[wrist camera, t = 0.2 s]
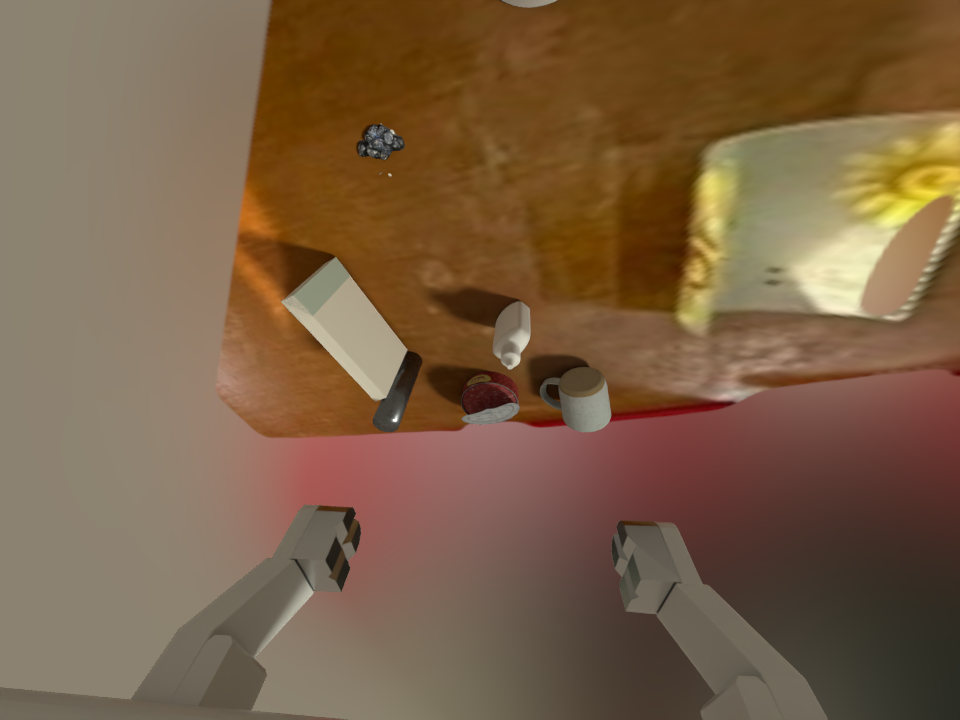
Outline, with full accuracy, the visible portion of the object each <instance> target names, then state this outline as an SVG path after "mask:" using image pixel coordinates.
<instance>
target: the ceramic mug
mask: <svg viewBox="0 0 960 720" xmlns="http://www.w3.org/2000/svg"><path fill="white" fill-rule="evenodd" d="M548 384H554V385H559V396H560V401H561V402H558V401H556V400H554V399H552V398H551V397H550V396H549V395H548V394H547V392H546V387H547V385H548ZM540 395H541V398H542V399H543V400H544V401H545V402H546V403H547V404H548V405H550V406H552V407H554V408H556V409H559V410H562V416H563V420H564V422H565V423H566V424H567V425H568V426H569V427H570V428H572V429H574V430H577V431H580V432H593V431H597V430H600V429H602V428H603V427H605V426H606V425H607V424H608V422H609V420H610V418H611V410H610V403H609V397H608V389H607V383H606V381H605V378H604V376H603V375H602V373H600V372H599V371H598V370H596V369H593V368H590V367H578V368H574V369H571V370H569V371H567V372H566V373H565V374H563V375H562V377H561V378H555V377H554V378H548V379H546V380H545V381H544V382H543V383H542V385H541V387H540Z"/></svg>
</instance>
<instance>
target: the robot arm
mask: <svg viewBox="0 0 960 720" xmlns="http://www.w3.org/2000/svg"><path fill="white" fill-rule="evenodd" d="M501 1H504V2H506V3H508V4H511V5H514V6H519V7H538V6H543V5H547V4H550V3H552V2H555V1H557V0H501ZM355 515H356V513H355V510H354V508H353V507H337V506H322V505H304V506H303V507H302V508H301V509H300V510H299V511H298V513H297V515H296V517H295V518H294V520H293V522H292V524H291V525H290V527H289V529H288V531H287V532H286V534H285V536H284V538H283V539H282V541H281V543H280V545H279V546H278V548H277V550H276V552H275V553H274V555H273V557H272V558H266V559H265V560H264V561H263V562H262V563H260V564H259V565H258V566H257V567H255V568H254V569H253V570H252V571H251V572H249V573H248V574H247V575H245V576H244V577H243V578H242V579H240V580H239V581H238V582H237V583H235V584H234V585H233V586H232V587H230V588H229V589H228V590H227V591H225V592H224V593H223V594H222V595H220V596H219V597H218V598H217V599H215V600H214V601H213V602H212V603H211V604H209V605H208V606H207V607H206V608H204V609H203V610H202V611H201V612H199V613H198V614H197V615H196V616H194V617H193V618H192V619H191V620H190V621H188V622H187V623H186V624H185V625H183V626H182V627H181V628H179V629H178V631H177V632H176V633H175V635H174V636H173V638H172V639H171V641H170V642H169V644H168V645H167V647H166V648H165V650H164V651H163V653H162V654H161V656H160V657H159V659H158V660H157V661H156V663H155V665H154V666H153V667H152V669H151V670H150V672H149V673H148V675H147V676H146V678H145V679H144V681H143V682H142V684H141V685H140V687H139V688H138V690H137V691H136V692H135V694H134V696H133V697H132V698H131V699H119V698H109V697H98V696H87V695H75V694H65V693H55V692H44V691H33V690H23V689H12V688H1V687H0V720H346V719H335V718H325V717H313V716H303V715H292V714H281V713H270V712H260V711H251V710H252V708H253V706H254V703H255V701H256V699H257V697H258V694H259V692H260V690H261V687H262V685H263V683H264V681H265V678H266V676H267V674H266V670H265V668H263V667H262V666H261V665H260V664H259V663H258V662H257V661H256V660H255V659H254V658H255V657H256V656H257V655H258V654H259V653H260V651H261V650H262V649H263V648H264V647H265V646H266V645H267V644H268V643H269V642H270V641H271V640H272V638H273V637H274V636H275V635H276V634H277V633H278V632H279V631H280V630H281V628H282V627H283V626H284V625H285V624H286V623H287V622H288V621H289V620H290V619H291V618H292V616H293V615H294V614H295V613H296V612H297V611H298V610H299V609H300V608H301V607H302V605H303V604H304V603H305V602H306V601H307V600H308V599H309V598H310V596H311V595H312V594H313V593H314V592H313V591H327V592H342V589H343V586H344V583H345V580H346V578H347V576H348V573H349V570H350V567H349V562H348V560H349V559H350V558H351V557H352V556H353V555H354V554H355V553H356V551H357V548H358V545H359V541H360V535H361V528H360V524H359V522H358V521H357V520H356V519H354V517H355ZM617 531H618V533H617V534H615V535H614V536H613V539H612V558H613V563H614V566H615V569H616V570H617V572H618V573H619V574H620V575H621V576H622V579H621V582H620V584H619V587H620V590H621V594H622V598H623V602H624V606H625V610H626V611H628V612H640V613H649V614H658V615H657V617H658V618H659V620H660V621H661V622H662V624H663V625H664V626H665V628H666V629H667V630H668V632H669V633H670V634H671V635H672V637H673V638H674V640H675V641H676V642H677V644H678V645H679V646H680V647H681V649H682V650H683V651H684V653H685V654H686V655H687V657H688V658H689V659H690V661H691V662H692V663H693V665H694V666H695V667H696V669H697V670H698V671H699V673H700V674H701V675H702V677H703V678H704V679H705V681H706V682H707V683H708V685H709V686H710V687H711V689H712V690H713V691H714V693H715V694H716V696H714V697H713V698H712V699H711V700H710V701H709V702H708V703H706V704H705V705H704V706H703V708H702V710H701V712H700V713H701V716H702V719H703V720H828V719H827V717H826V715H825V713H824V711H823V710H822V708H821V706H820V704H819V703H818V701H817V699H816V697H815V695H814V694H813V692H812V690H811V688H810V686H809V685H808V683H807V681H806V679H805V678H804V677H803V676H802V675H801V674H799V672H798V671H797V670H796V669H794V668H793V667H792V666H791V665H790V664H789V663H788V662H787V661H786V660H785V659H784V658H783V657H782V656H781V655H780V654H779V653H778V652H777V651H776V650H775V649H774V648H773V647H772V646H771V645H770V644H769V643H767V641H766V640H765V639H763V637H761V636H760V635H759V634H758V633H757V632H756V631H755V630H754V629H753V628H752V627H751V626H750V625H749V624H748V623H747V622H746V621H745V620H744V619H743V618H742V617H741V616H740V615H738V613H737V612H735V610H734V609H733V608H731V607H730V606H729V605H728V604H727V603H726V602H725V601H724V600H723V599H722V598H721V597H720V596H719V595H718V594H717V593H716V592H715V591H714V590H713V589H712V588H711V587H710V586H709V585H703V584H702V582H701V580H700V577H699V575H698V573H697V571H696V569H695V566H694V564H693V562H692V560H691V557H690V555H689V553H688V551H687V549H686V546H685V544H684V542H683V540H682V537H681V535H680V533H679V531H678V529H677V527H676V526H675V525H674V524H673V523H665V522H650V521H619V522H618V524H617Z"/></svg>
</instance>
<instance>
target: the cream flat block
mask: <svg viewBox="0 0 960 720" xmlns="http://www.w3.org/2000/svg"><path fill="white" fill-rule="evenodd" d="M281 302H282V303H283V304H284V305H285V306H286V308H287V309H288V310H289V311H290V312H291V313H292V314H293V315H294V316H295V317H296V318H297V319H298V320H299V321H300V322H301V323H302V324H303V325H304V326H305V327H306V328H307V329H308V331H309V332H310V333H311V334H312V335H313V336H314V337H315V338H316V339H317V340H318V341H319V342H320V343H321V344H322V345H323V346H324V348H325V349H326V350H327V351H328V352H329V353H330V354H331V355H332V356H333V357H334V358H335V359H336V360H337V361H338V362H339V364H340V365H341V366H342V367H343V368H344V369H345V370H346V371H347V372H348V373H349V374H350V375H351V376H352V377H353V378H354V379H355V381H356V382H357V383H358V384H359V385H360V386H361V387H362V388H363V389H364V390H365V391H366V392H367V393H368V394H369V395H370V397H371V398H372V399H373V400H374V401H378V400H381V399H384V398H386V397H387V395H388V393H389V390H390V388H391V386H392V384H393V381H394V379H395V377H396V375H397V372H398V370H399V368H400V366H401V363H402V361H403V359H404V356H405V354H406V352H407V349H406V348H405V346H404V345H403V344H402V342H401V341H400V340H399V338H398V337H397V336H396V335H395V333H394V332H393V331H392V329H391V328H390V327H389V326H388V324H387V323H386V322H385V320H384V319H383V318H382V316H381V315H380V314H379V313H378V311H377V310H376V309H375V307H374V306H373V305H372V304H371V302H370V301H369V300H368V298H367V297H366V296H365V294H364V293H363V292H362V291H361V289H360V288H359V287H358V285H357V284H356V283H355V282H354V280H353V279H352V278H351V276H350V275H349V273H348V272H347V271H346V269H345V268H344V267H343V266H342V264H341V263H340V262H339V260H338V259H337V258H336V257H335V258H333V259H332V260H330V261H328V262H326V263H325V264H324V265H322V266H321V267H320V268H319V269H318V270H317V271H316V272H314V273H313V274H312V275H311V276H310V277H309V278H308V279H306V280H305V281H304V282H303V283H302V284H301V285H300V286H298V287H297V288H296V289H295V290H294V291H293V292H292V293H291V294H289V295H288V296H287V297H286V298H285V299H284V300H283V301H281Z"/></svg>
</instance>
